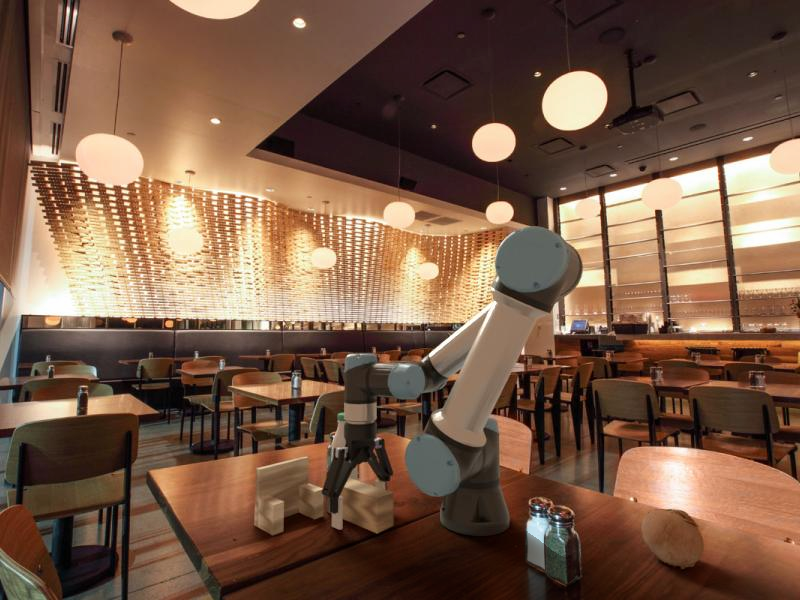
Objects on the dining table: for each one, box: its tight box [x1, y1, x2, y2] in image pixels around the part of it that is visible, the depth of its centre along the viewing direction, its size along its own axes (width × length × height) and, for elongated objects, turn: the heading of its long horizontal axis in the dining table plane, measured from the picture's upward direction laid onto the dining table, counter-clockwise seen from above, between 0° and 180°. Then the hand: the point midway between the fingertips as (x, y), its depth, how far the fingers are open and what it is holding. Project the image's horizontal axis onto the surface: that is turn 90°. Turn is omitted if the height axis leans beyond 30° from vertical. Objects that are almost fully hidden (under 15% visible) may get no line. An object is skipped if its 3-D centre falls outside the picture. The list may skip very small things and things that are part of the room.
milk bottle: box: [330, 412, 360, 481], centre depth 115 cm, size 8×8×20 cm
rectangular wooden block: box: [326, 478, 395, 534], centre depth 95 cm, size 17×5×8 cm, turn 48°
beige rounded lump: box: [640, 508, 705, 570], centre depth 75 cm, size 10×9×10 cm
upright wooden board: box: [253, 456, 325, 536], centre depth 94 cm, size 8×13×12 cm, turn 138°
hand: (359, 518), depth 94 cm, fingers open, 12 cm apart
